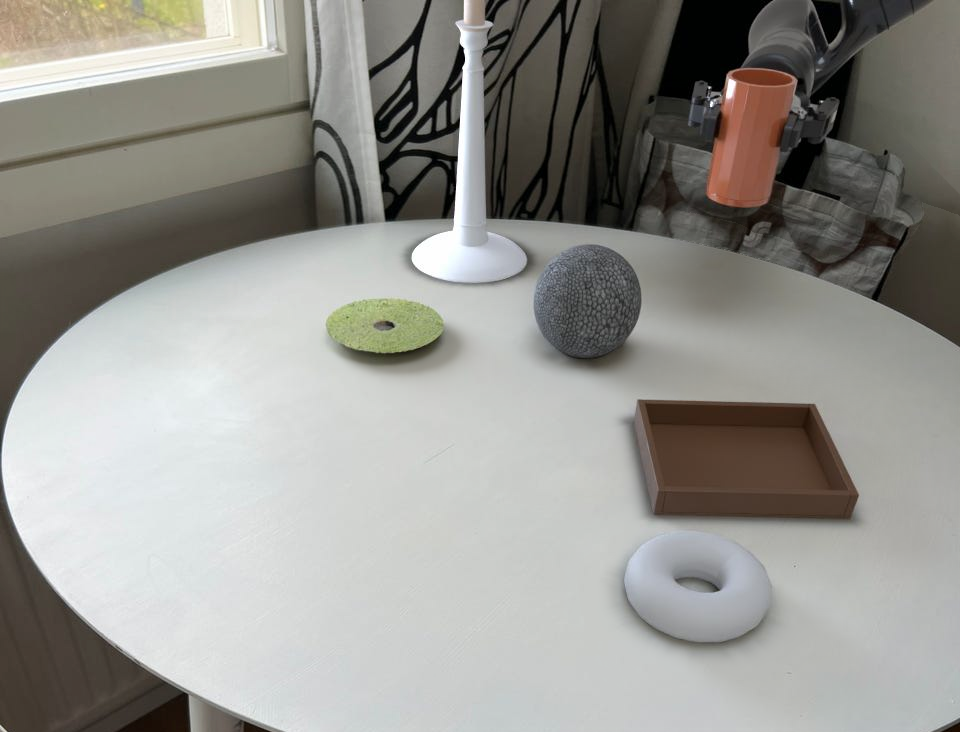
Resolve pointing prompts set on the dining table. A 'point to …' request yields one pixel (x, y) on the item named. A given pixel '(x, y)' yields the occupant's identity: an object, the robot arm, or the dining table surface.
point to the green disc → (384, 325)
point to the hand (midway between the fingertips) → (748, 134)
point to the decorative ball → (587, 301)
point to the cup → (749, 136)
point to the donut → (692, 610)
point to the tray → (741, 460)
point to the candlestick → (471, 182)
